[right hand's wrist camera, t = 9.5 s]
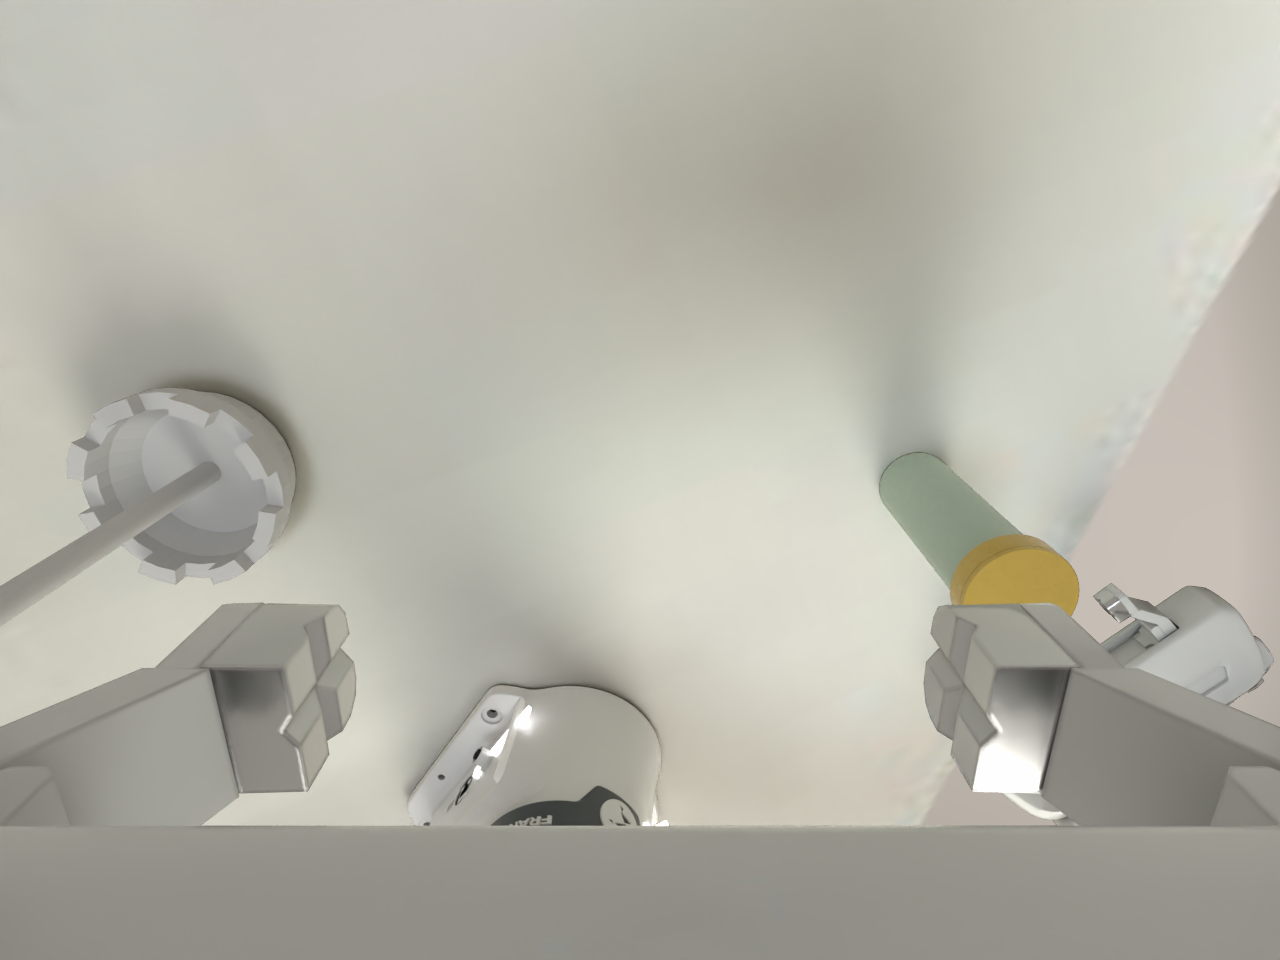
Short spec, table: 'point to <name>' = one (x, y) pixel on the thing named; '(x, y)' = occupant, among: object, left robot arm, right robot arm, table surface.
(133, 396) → the flag stand
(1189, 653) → the left robot arm
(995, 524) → the pale green cylinder
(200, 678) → the right robot arm
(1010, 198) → the table surface
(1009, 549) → the lid
